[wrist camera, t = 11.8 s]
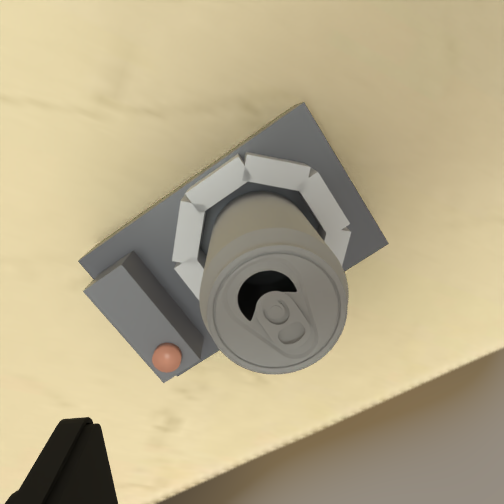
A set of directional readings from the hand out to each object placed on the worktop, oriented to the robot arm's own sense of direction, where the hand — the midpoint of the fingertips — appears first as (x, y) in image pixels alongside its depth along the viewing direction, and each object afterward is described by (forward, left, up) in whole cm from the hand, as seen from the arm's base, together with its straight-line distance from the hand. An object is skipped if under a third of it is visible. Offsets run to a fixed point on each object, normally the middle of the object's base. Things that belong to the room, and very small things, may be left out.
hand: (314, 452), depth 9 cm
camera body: (+2, 0, -24) cm, 24 cm away
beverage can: (0, 0, -20) cm, 20 cm away
